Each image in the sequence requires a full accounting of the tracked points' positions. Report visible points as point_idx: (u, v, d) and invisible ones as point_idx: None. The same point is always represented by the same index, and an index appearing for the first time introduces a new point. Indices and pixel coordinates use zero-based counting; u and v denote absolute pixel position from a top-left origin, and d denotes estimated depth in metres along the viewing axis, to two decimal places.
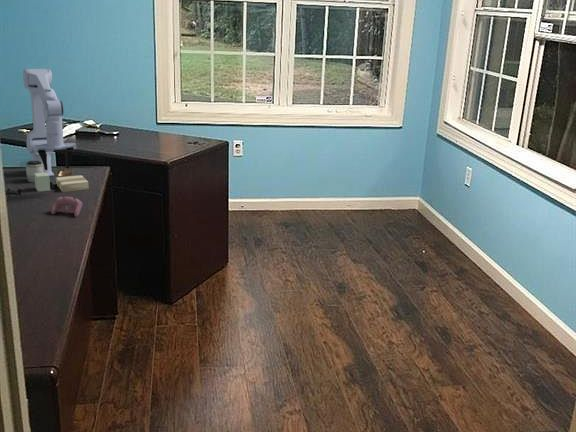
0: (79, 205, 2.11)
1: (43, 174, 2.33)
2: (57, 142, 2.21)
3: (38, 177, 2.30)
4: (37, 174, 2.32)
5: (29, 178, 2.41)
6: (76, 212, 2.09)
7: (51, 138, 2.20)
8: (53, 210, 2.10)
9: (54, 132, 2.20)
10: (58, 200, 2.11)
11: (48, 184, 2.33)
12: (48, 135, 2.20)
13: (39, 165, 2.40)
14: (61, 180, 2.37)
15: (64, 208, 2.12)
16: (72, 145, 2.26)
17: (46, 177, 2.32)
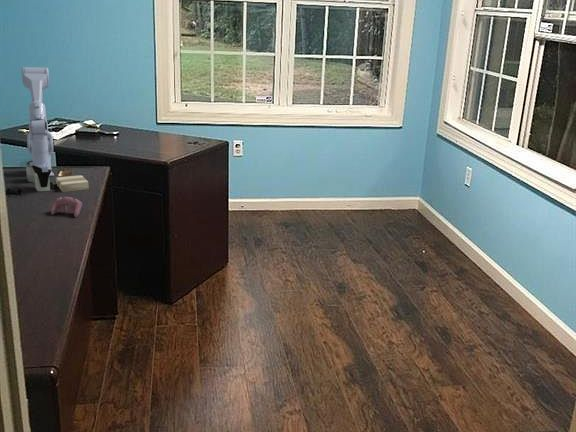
0: (79, 205, 2.10)
1: None
2: (33, 159, 2.29)
3: None
4: None
5: (29, 178, 2.41)
6: (76, 212, 2.09)
7: None
8: (53, 210, 2.09)
9: (38, 150, 2.27)
10: (58, 200, 2.11)
11: (48, 184, 2.33)
12: None
13: None
14: (61, 180, 2.37)
15: (64, 208, 2.12)
16: (41, 167, 2.26)
17: None
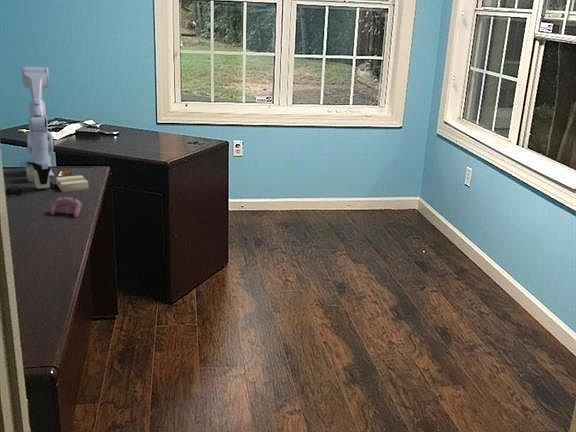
0: (79, 206, 2.10)
1: None
2: (32, 156, 2.28)
3: None
4: None
5: (29, 178, 2.41)
6: (76, 213, 2.09)
7: None
8: (52, 211, 2.09)
9: (38, 147, 2.26)
10: (57, 201, 2.10)
11: (47, 181, 2.33)
12: None
13: None
14: (61, 180, 2.37)
15: (63, 209, 2.11)
16: (41, 164, 2.26)
17: None
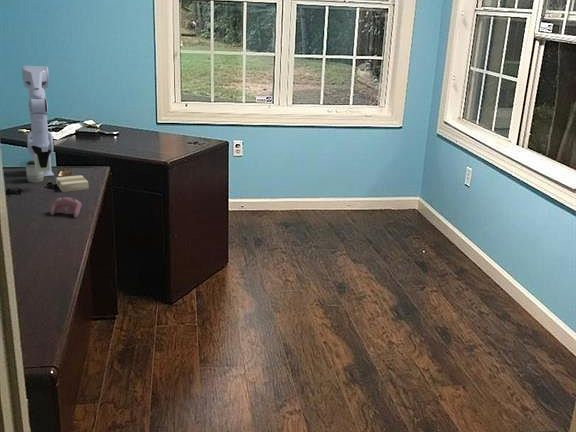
0: (78, 206, 2.10)
1: None
2: (32, 139, 2.26)
3: None
4: None
5: (29, 178, 2.41)
6: (75, 213, 2.08)
7: None
8: (52, 211, 2.09)
9: (38, 130, 2.24)
10: (57, 201, 2.10)
11: (47, 165, 2.30)
12: None
13: None
14: (61, 180, 2.37)
15: (63, 209, 2.11)
16: (40, 147, 2.23)
17: None
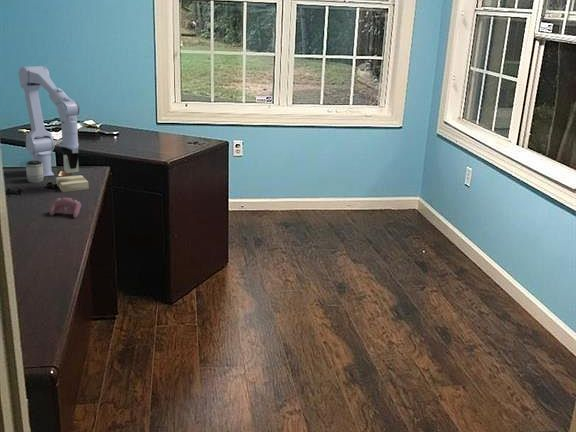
0: (78, 206, 2.10)
1: None
2: (62, 140, 2.31)
3: (67, 158, 2.33)
4: (66, 156, 2.35)
5: (29, 178, 2.41)
6: (75, 213, 2.08)
7: None
8: (52, 211, 2.08)
9: (72, 131, 2.30)
10: (57, 201, 2.10)
11: None
12: None
13: (39, 165, 2.40)
14: (61, 180, 2.37)
15: (63, 209, 2.11)
16: (71, 148, 2.29)
17: None
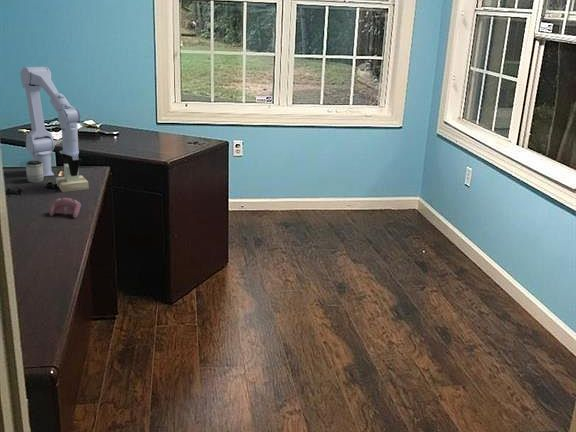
0: (78, 206, 2.09)
1: None
2: (63, 147, 2.32)
3: (68, 167, 2.34)
4: (66, 165, 2.36)
5: (29, 178, 2.41)
6: (75, 213, 2.08)
7: None
8: (52, 211, 2.08)
9: (72, 139, 2.31)
10: (56, 201, 2.10)
11: (77, 175, 2.37)
12: None
13: (39, 165, 2.40)
14: (61, 180, 2.37)
15: (63, 209, 2.11)
16: (71, 155, 2.30)
17: None
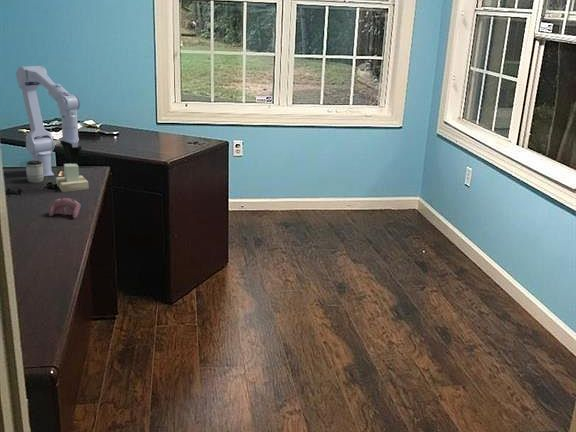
0: (77, 207, 2.09)
1: (72, 165, 2.37)
2: None
3: (68, 167, 2.34)
4: (66, 165, 2.36)
5: (29, 178, 2.41)
6: (74, 214, 2.07)
7: None
8: (51, 212, 2.08)
9: (72, 126, 2.30)
10: (56, 202, 2.09)
11: (77, 175, 2.37)
12: None
13: (39, 165, 2.40)
14: (61, 180, 2.37)
15: (62, 210, 2.10)
16: (71, 142, 2.29)
17: (75, 168, 2.36)
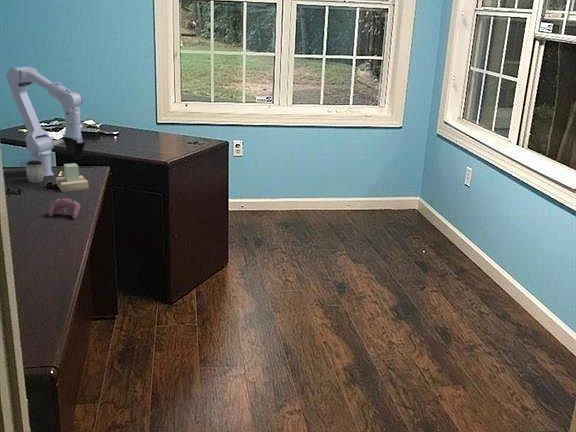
0: (77, 207, 2.09)
1: (72, 165, 2.37)
2: (66, 131, 2.38)
3: (68, 167, 2.34)
4: (66, 165, 2.36)
5: (29, 178, 2.41)
6: (74, 214, 2.07)
7: None
8: (51, 212, 2.08)
9: (77, 122, 2.37)
10: (56, 202, 2.09)
11: (77, 175, 2.37)
12: None
13: (39, 165, 2.40)
14: (61, 180, 2.37)
15: (62, 210, 2.10)
16: (75, 138, 2.35)
17: (75, 168, 2.36)
